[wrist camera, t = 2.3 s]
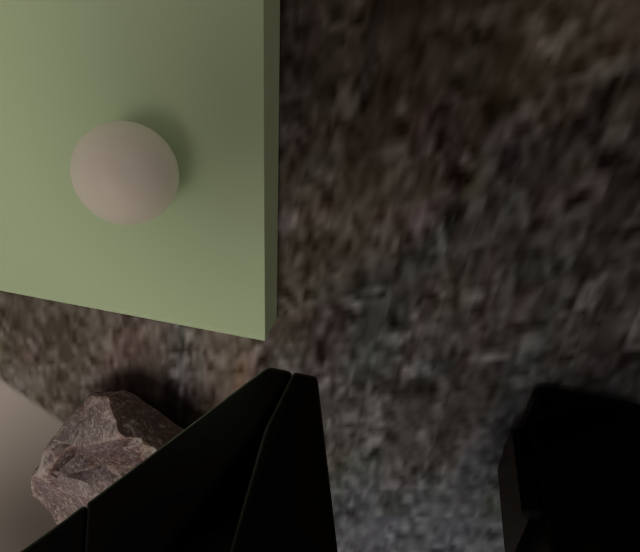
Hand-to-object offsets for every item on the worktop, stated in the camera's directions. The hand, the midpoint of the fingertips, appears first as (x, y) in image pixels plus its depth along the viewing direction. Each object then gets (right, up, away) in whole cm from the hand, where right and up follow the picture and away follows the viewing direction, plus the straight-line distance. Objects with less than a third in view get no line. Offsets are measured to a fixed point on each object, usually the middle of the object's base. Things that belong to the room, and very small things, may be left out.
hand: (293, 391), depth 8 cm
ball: (-6, +5, +8) cm, 11 cm away
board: (-10, +8, +11) cm, 17 cm away
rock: (-12, -8, +22) cm, 27 cm away
